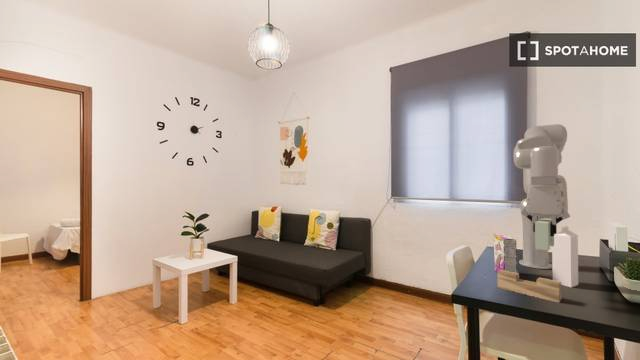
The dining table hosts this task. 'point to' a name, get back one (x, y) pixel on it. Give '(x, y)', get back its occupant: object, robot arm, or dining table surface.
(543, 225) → the pale green rectangular block
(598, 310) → the dining table surface
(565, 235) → the milk
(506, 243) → the candy bar box
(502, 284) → the oak rail
